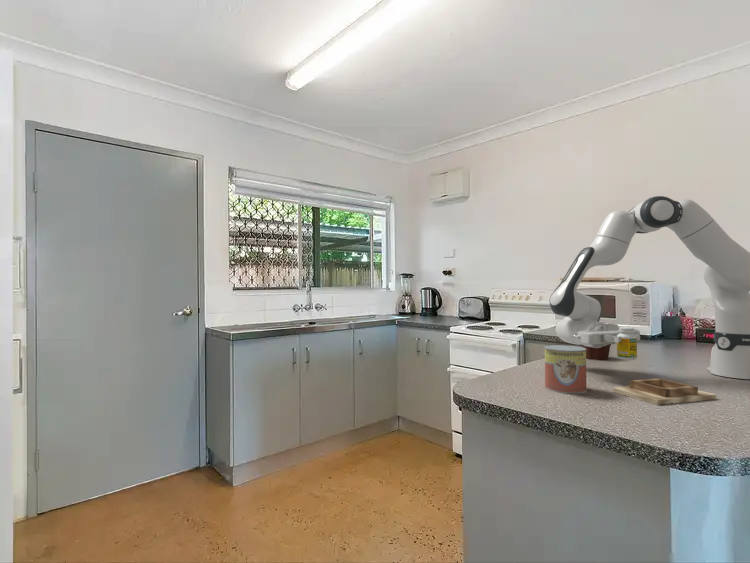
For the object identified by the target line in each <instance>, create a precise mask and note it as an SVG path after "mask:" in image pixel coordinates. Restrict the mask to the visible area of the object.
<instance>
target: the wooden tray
mask: <svg viewBox="0 0 750 563" xmlns="http://www.w3.org/2000/svg"><path fill="white" fill-rule="evenodd" d="M628 382H629V385H628V386H627V385H625V386H616V387H614V386H613V387H611V388H612V391H613V392H612V393H615V392H616V393H615V394H618V393H619V395H621V394H623V395H622V396H625V395H626V396H625V397H628V396H629V398H631V397H633V398H632V399H635V398H636V399H635V400H638V399H639V401H642V402H645V401H646V402H645V403H648V402H649V404H652V403H653V404H652V405H655V404H656V406H661V404H663V405H671V404H670V403H673V404H682V402H683V403H689V402H691V403H692V402H701V401H711V400H717V399H718V398H717V394H716V393H712V392H707V391H702V390H699V386H695V385H692V384H687V383H683V382H678V381H673V380H668V379H665V378H660V377H659V378H647V379H646V378H645V379H632V380H631V379H630V380H629V381H628Z"/></svg>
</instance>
